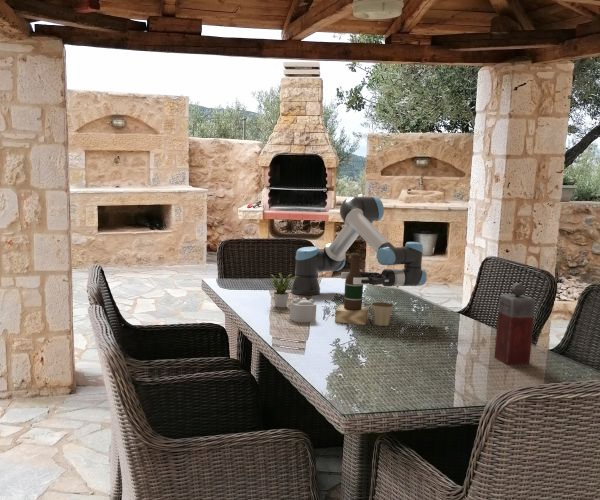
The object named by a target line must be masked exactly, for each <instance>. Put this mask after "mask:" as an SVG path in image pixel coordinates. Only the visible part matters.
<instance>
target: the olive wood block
mask: <svg viewBox="0 0 600 500" xmlns="http://www.w3.org/2000/svg"><path fill="white" fill-rule="evenodd" d="M334 311H335V312H334V314H335V315H334V323H343V324H353V325H354V324H355V325H363V326H365V325H366V324H367V322H368V320H369V318H370V317H369V315H370V306H363V305H362V308H361V309H360V310H347V309H345V308H344V304H341V303H340V304H339V305H338V306H337V308H336V309H335V310H334Z"/></svg>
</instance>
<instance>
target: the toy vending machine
mask: <svg viewBox="0 0 600 500" xmlns="http://www.w3.org/2000/svg"><path fill="white" fill-rule="evenodd" d="M510 291H511V293H512V294H511V293H508V294H507V293H506V294H505V293H502V294H500V295H499V299H498V300H499V302H498V310H497V311H498V312H497V324H496V335H495V345H494V346H495V347H494V355H493V357H494V358H495V359H496V360H498V361H499V362H501V363H503V364H504V365H506V366H515V365H516V366H519V365H520V366H521V365H530V362H531V353H532V352H531V350H532V340H533V332H534V331H533V330H534V329H533V328H534V320H535V318H534V317H535V310H536V309H535V308H536V307H535V306H536V300H535V299H534V298H533V297H529V296H528V295H527V296H526V295H524V293H525V292H526V287H525V286H524V284H522V283H518V282H515V283H513V284H512V285H511V288H510Z"/></svg>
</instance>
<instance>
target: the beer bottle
mask: <svg viewBox="0 0 600 500" xmlns="http://www.w3.org/2000/svg"><path fill="white" fill-rule="evenodd" d="M360 257H361V254H359V253H355V252H353V253H352V254H351V261H350V270H349V271H348V272H349V274H348V275H347V277H346V279H344V280H345V282H344V293H343V294H344V297H343V305H344V308H345V309H347V310H360V309H361V308H362V306H363V296H364V295H363V293H364V292H363V291H364V290H363V289H364V284H353V278H362V275H361V274H360V272H361V271H360Z"/></svg>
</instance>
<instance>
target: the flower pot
mask: <svg viewBox="0 0 600 500" xmlns="http://www.w3.org/2000/svg"><path fill="white" fill-rule="evenodd" d="M371 306H372V307H371V308H372V311H373V324H374V325H375V326H380V327H382V326H385V327H387V326H389V325H390V319H391V315H392V311H393V309H394V307H395V304H393V303H391V302H390V303H389V302H383V301H382V302H381V301H379V302H377V301H376V302H375V301H374V302H372V303H371Z"/></svg>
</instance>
